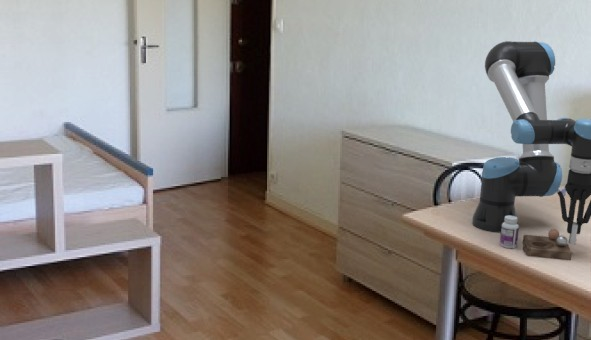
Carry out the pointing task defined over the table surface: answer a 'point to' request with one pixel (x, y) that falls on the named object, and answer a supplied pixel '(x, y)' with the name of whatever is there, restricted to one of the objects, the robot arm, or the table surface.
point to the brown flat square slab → (545, 248)
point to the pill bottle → (509, 232)
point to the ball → (561, 240)
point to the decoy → (553, 234)
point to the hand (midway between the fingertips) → (571, 243)
